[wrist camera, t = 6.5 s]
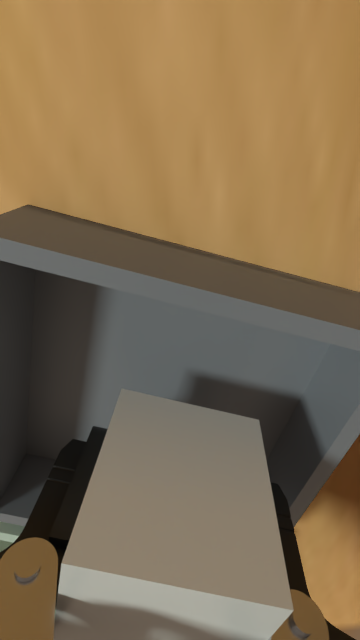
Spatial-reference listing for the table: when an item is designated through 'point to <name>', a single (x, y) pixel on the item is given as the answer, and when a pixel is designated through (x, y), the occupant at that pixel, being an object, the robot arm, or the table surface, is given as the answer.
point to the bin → (165, 349)
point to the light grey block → (175, 531)
